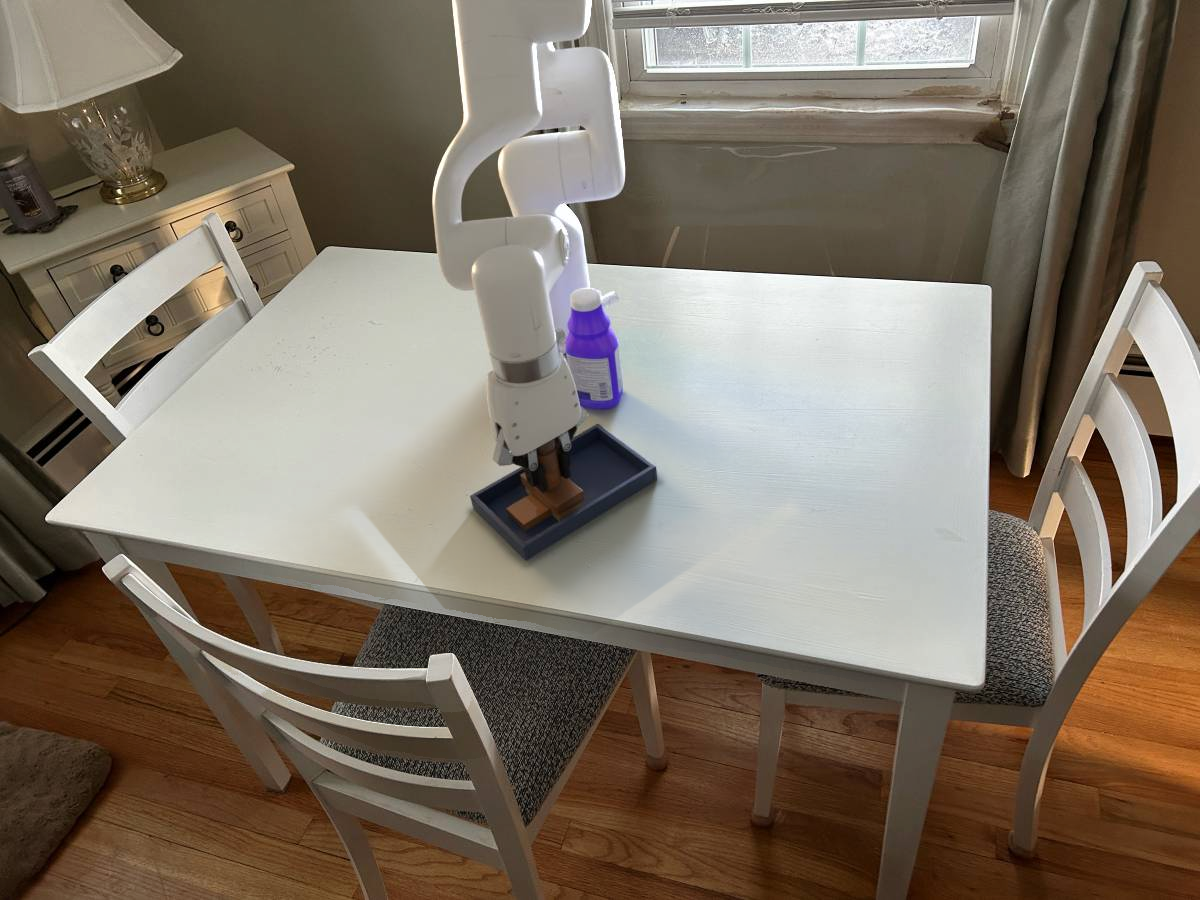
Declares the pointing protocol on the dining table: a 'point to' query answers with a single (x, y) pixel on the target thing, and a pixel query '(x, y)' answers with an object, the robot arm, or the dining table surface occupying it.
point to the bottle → (593, 352)
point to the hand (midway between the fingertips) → (549, 478)
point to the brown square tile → (528, 511)
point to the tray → (594, 468)
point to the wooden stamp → (555, 484)
